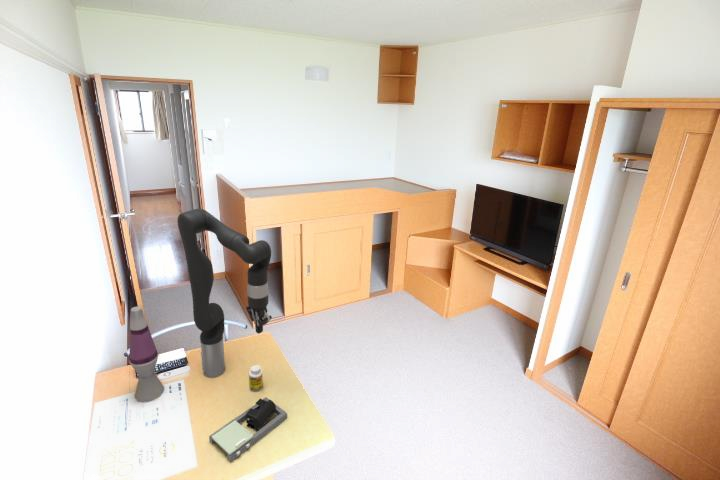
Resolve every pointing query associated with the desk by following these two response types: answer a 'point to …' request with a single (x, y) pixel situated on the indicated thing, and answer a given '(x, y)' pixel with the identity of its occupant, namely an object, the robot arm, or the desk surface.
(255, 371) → the supplement bottle
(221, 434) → the lid
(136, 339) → the lamp
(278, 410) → the grey frame
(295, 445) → the desk surface
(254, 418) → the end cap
